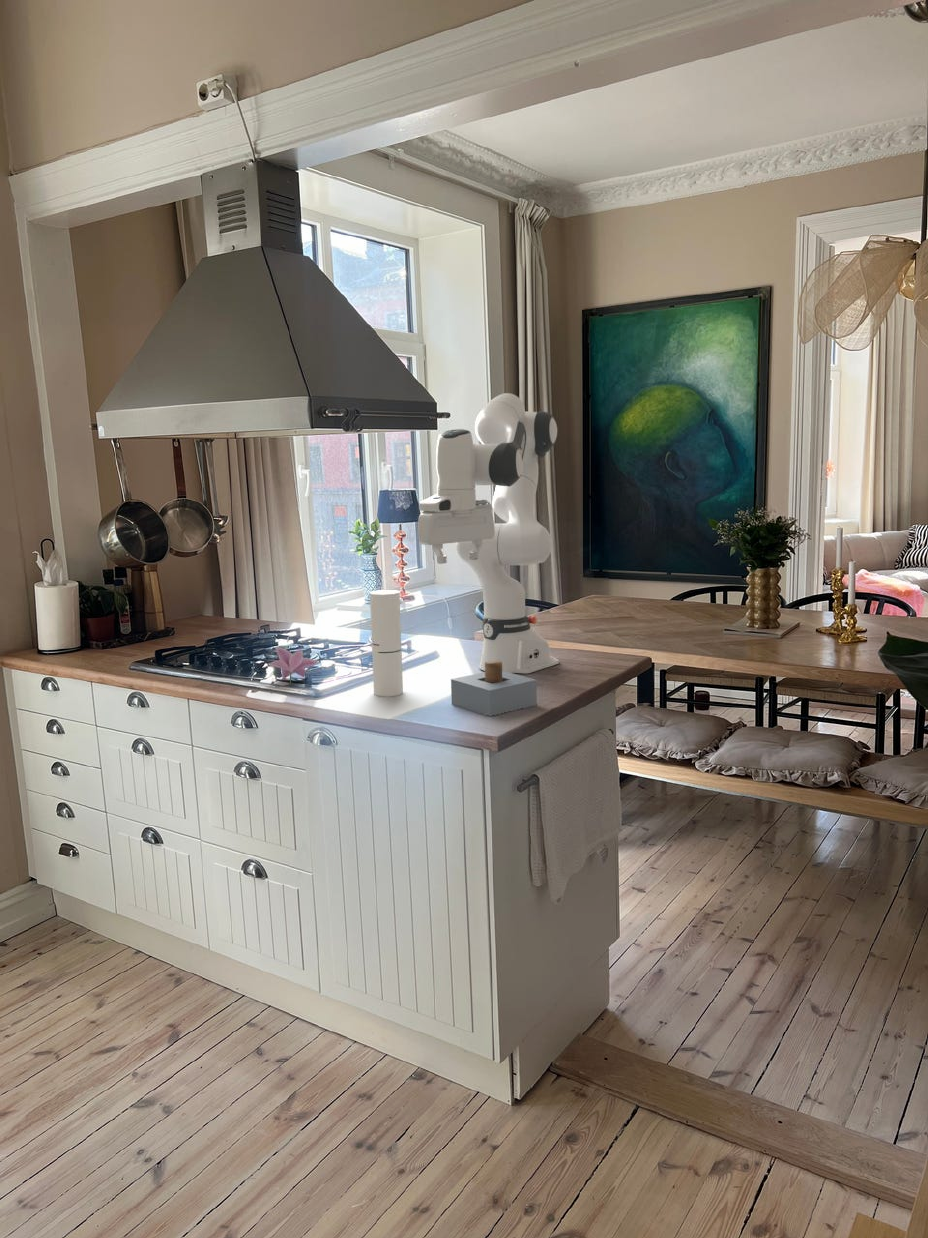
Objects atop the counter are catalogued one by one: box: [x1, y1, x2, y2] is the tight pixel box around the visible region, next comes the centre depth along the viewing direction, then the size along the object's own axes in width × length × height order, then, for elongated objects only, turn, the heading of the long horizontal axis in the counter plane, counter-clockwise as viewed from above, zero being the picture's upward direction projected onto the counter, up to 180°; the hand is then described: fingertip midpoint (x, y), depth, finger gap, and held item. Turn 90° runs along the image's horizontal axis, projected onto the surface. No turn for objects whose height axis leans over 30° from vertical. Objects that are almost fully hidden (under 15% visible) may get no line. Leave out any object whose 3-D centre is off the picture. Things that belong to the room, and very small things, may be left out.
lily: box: [268, 646, 320, 685], centre depth 240 cm, size 12×12×10 cm
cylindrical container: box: [369, 589, 404, 697], centre depth 226 cm, size 7×7×25 cm
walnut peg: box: [484, 661, 502, 684], centre depth 214 cm, size 4×4×10 cm
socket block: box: [450, 671, 538, 717], centre depth 214 cm, size 14×14×6 cm
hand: (458, 561), depth 215 cm, fingers open, 8 cm apart
